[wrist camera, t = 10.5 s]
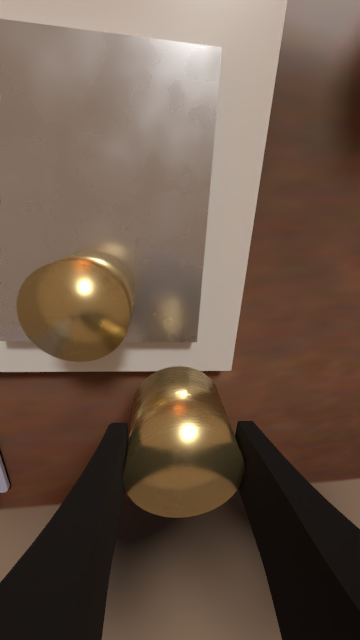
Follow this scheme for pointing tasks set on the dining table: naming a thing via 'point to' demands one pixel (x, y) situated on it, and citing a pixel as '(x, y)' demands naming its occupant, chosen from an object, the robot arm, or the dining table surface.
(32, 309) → the brass weight
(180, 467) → the brass weight
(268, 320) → the dining table surface
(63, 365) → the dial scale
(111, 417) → the dining table surface
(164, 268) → the scale pan
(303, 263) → the dining table surface
